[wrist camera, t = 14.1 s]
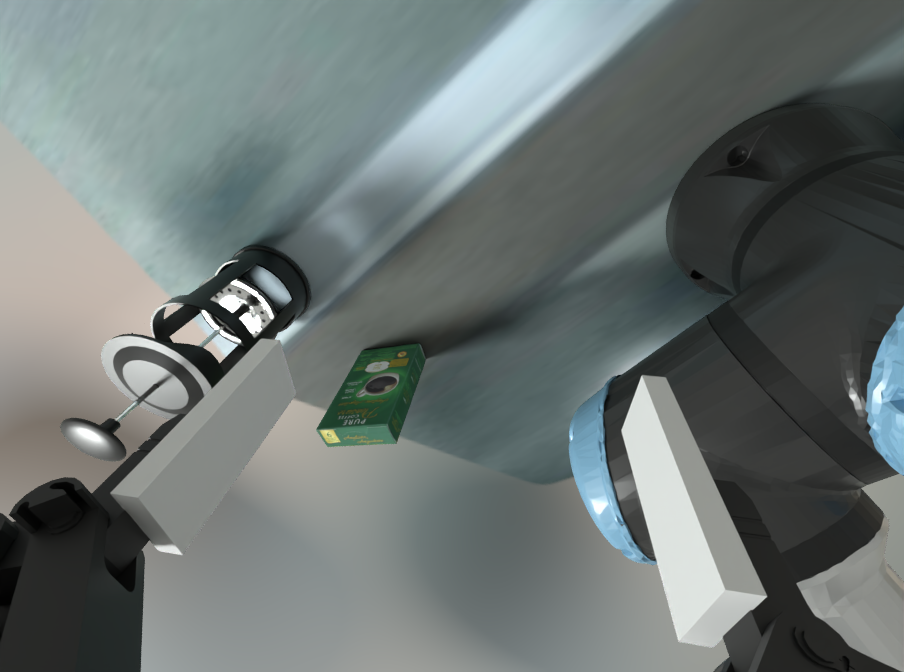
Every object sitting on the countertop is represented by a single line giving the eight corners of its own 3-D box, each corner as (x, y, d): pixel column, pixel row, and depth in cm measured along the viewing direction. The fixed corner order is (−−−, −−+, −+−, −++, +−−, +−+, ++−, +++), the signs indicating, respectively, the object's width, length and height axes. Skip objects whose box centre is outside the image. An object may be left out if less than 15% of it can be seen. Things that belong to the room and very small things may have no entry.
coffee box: (367, 367, 49) (325, 450, 39) (358, 349, 48) (312, 430, 37) (427, 360, 47) (400, 445, 36) (420, 341, 46) (390, 424, 35)
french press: (221, 232, 41) (-27, 370, 22) (306, 247, 41) (126, 402, 22) (242, 322, 48) (65, 486, 29) (315, 337, 48) (183, 512, 29)
